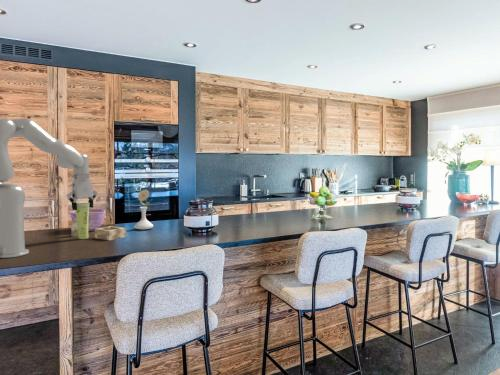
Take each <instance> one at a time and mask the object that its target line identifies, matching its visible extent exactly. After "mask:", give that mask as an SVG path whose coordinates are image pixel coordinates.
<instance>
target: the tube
mask: <svg viewBox="0 0 500 375" xmlns="http://www.w3.org/2000/svg"><path fill="white" fill-rule="evenodd" d="M76 203H77V210H75V211H76V217H77V226H78V236H77V237H78V240H86V239H89V231H88V217H89V209H90V207H89V204H90V203H88V202H79V203H78V202H76Z"/></svg>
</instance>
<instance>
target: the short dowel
mask: <svg viewBox="0 0 500 375" xmlns="http://www.w3.org/2000/svg"><path fill="white" fill-rule="evenodd" d="M70 226H71V232H70V233H71V237H72V238H73V237H75V238H76V237H78V226H77V223H73V222H72V223H71V224H70Z"/></svg>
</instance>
